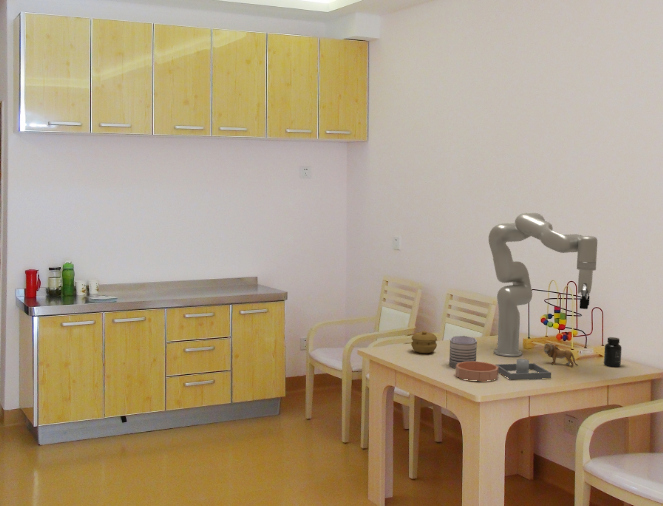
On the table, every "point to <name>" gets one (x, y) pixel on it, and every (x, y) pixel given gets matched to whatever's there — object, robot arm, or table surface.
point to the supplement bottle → (612, 353)
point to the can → (462, 350)
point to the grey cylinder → (522, 366)
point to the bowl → (477, 371)
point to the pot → (424, 342)
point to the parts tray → (540, 375)
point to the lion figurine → (558, 354)
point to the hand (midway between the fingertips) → (584, 306)
